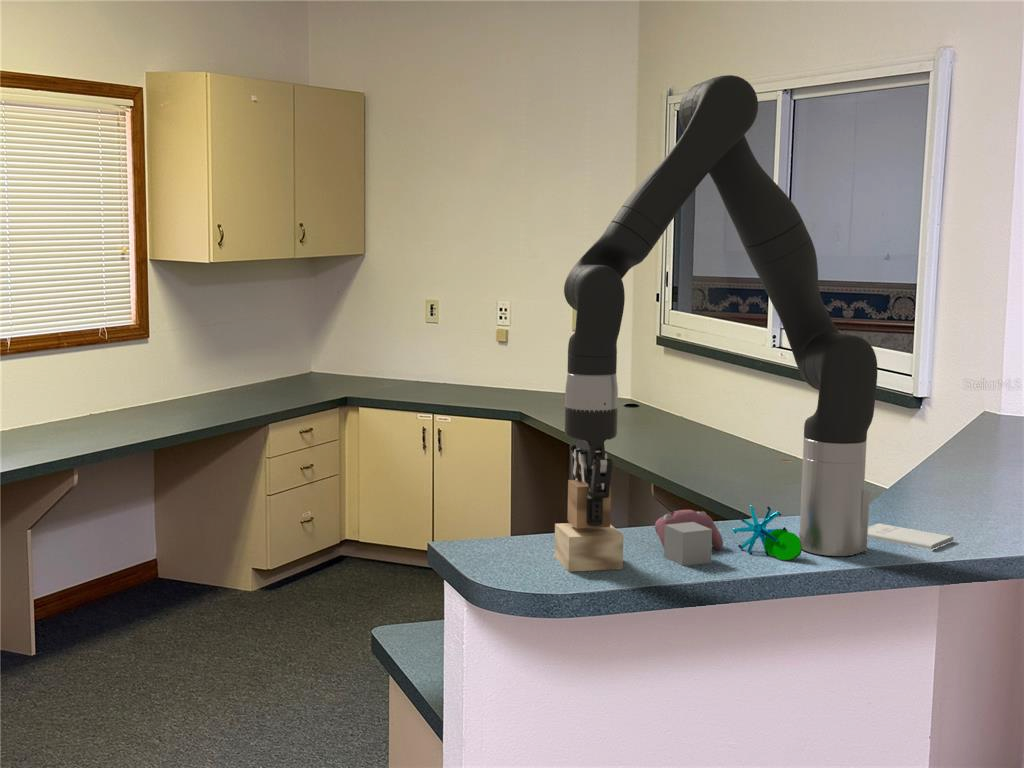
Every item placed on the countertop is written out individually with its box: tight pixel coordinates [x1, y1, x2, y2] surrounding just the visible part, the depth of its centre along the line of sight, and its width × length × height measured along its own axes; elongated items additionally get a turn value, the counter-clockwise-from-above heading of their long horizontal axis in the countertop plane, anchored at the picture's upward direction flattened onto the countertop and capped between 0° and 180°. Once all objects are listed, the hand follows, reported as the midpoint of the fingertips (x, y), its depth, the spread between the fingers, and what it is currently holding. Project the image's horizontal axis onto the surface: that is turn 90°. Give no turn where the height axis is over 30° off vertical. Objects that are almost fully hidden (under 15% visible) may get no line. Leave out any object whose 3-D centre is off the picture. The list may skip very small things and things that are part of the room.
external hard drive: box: [868, 522, 954, 549], centre depth 178 cm, size 2×8×12 cm
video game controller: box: [654, 509, 724, 551], centre depth 171 cm, size 10×5×7 cm, turn 112°
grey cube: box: [663, 522, 713, 567], centre depth 164 cm, size 5×5×5 cm
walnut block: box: [567, 479, 612, 528], centre depth 161 cm, size 5×5×6 cm
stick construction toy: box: [732, 505, 803, 562], centre depth 169 cm, size 12×7×8 cm
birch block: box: [554, 522, 624, 573], centre depth 161 cm, size 8×8×5 cm
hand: (589, 520), depth 161 cm, fingers closed on walnut block, 4 cm apart
